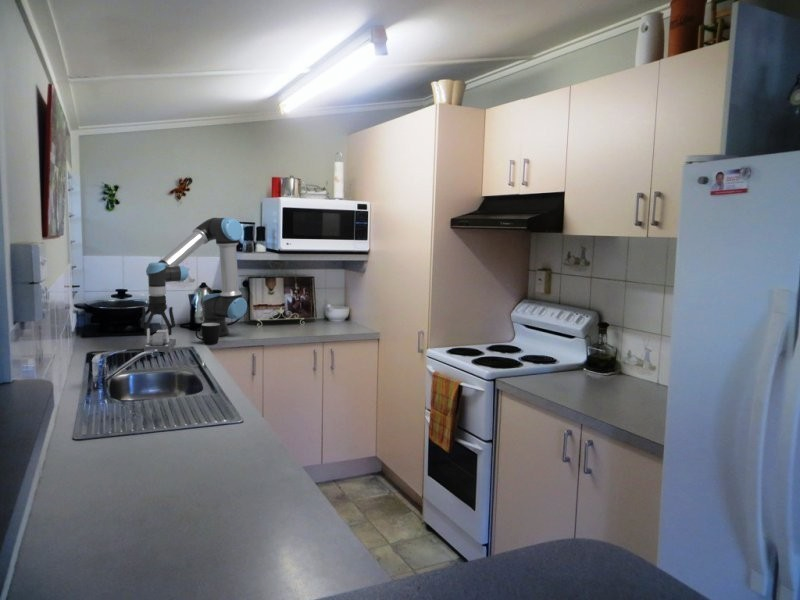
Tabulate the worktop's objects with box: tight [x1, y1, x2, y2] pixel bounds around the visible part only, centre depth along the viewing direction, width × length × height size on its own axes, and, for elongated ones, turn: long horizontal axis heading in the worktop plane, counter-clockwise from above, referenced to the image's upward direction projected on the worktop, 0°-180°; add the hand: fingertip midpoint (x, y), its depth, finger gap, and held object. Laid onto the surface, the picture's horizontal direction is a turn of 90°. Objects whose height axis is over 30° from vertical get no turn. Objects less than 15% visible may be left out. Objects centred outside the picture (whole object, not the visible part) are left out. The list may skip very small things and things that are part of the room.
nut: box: [152, 333, 165, 346], centre depth 285 cm, size 5×5×8 cm
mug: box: [195, 323, 220, 346], centre depth 304 cm, size 12×9×10 cm
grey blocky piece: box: [143, 329, 177, 354], centre depth 290 cm, size 11×20×8 cm, turn 12°
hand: (158, 342), depth 285 cm, fingers open, 8 cm apart
